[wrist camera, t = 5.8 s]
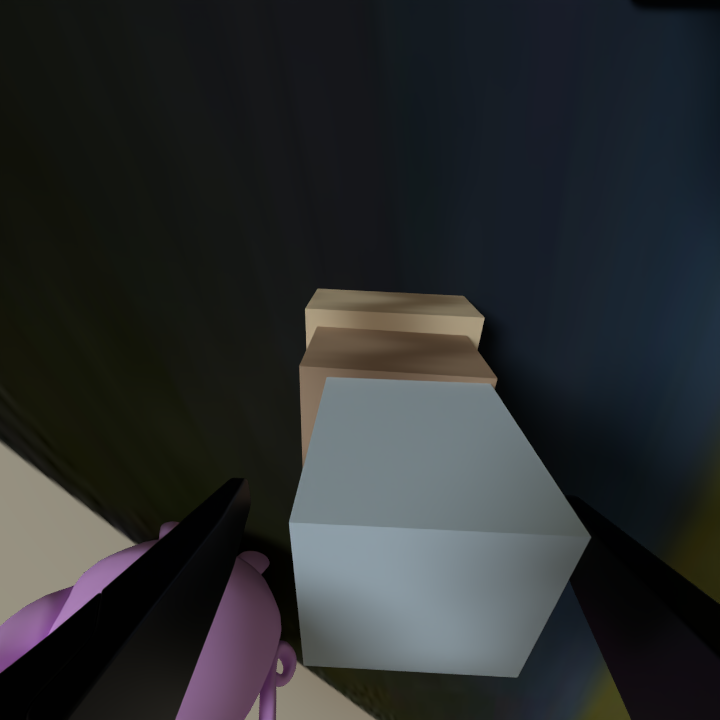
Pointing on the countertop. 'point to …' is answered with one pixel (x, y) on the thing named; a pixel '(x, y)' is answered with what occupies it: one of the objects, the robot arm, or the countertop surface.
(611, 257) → the countertop surface
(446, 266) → the countertop surface
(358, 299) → the oak base slab
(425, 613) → the pale blue cube
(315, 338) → the walnut mid slab
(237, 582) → the teapot
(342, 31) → the countertop surface
